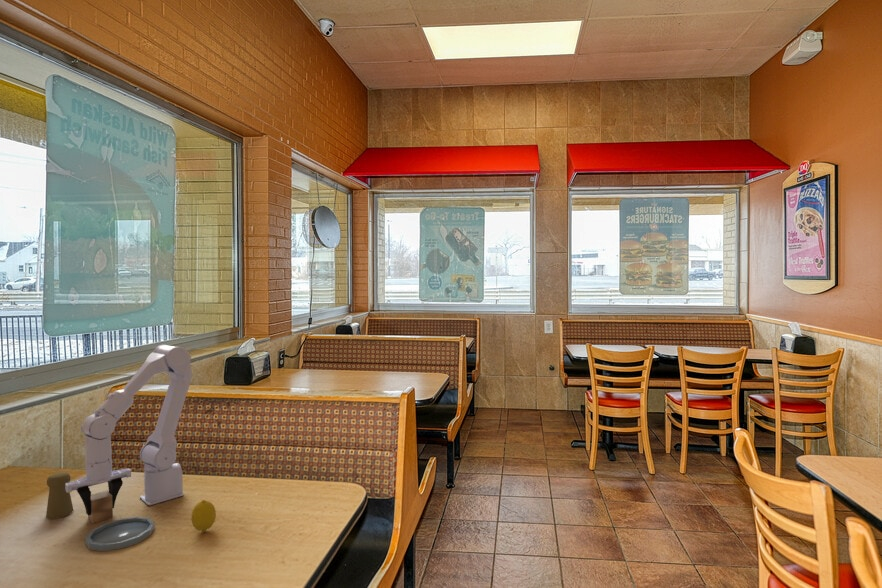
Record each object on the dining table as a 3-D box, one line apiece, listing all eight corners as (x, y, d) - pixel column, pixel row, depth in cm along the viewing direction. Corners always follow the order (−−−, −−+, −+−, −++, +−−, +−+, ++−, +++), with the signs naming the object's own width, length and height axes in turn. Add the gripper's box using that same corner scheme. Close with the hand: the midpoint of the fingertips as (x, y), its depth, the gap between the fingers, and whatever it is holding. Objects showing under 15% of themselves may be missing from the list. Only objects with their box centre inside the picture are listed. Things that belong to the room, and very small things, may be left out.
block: (108, 512, 141) (107, 490, 140) (112, 517, 137) (112, 495, 137) (88, 517, 137) (87, 495, 137) (92, 523, 134) (91, 500, 134)
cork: (58, 519, 136) (57, 478, 136) (39, 517, 138) (38, 477, 137) (79, 509, 142) (77, 470, 142) (60, 507, 144) (59, 468, 143)
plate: (143, 517, 138) (143, 511, 138) (161, 535, 128) (161, 529, 128) (80, 536, 128) (80, 530, 127) (94, 557, 118) (94, 551, 118)
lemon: (220, 528, 131) (220, 497, 131) (204, 538, 126) (203, 506, 126) (203, 525, 133) (203, 494, 133) (186, 535, 128) (185, 503, 127)
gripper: (68, 471, 129) (70, 525, 129) (134, 456, 139) (135, 506, 140) (62, 464, 134) (64, 516, 134) (126, 450, 144) (127, 498, 145)
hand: (100, 510), depth 137 cm, fingers closed on block, 5 cm apart
